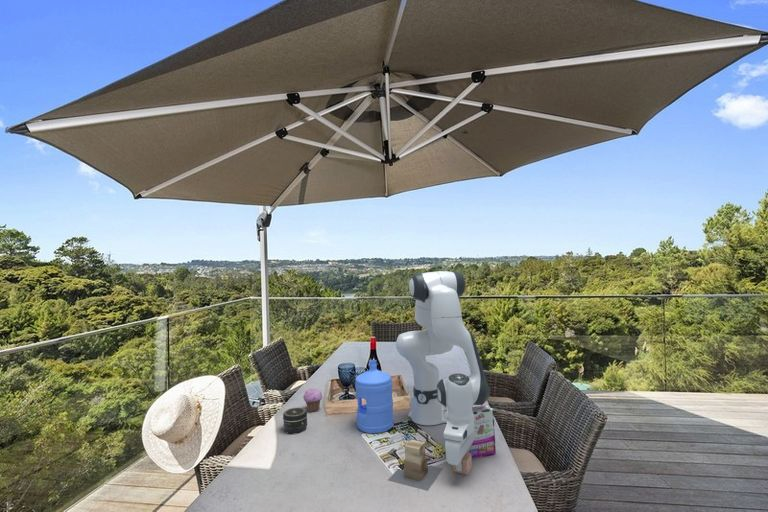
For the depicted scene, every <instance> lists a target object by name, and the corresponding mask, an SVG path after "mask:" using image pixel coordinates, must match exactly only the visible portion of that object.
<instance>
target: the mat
mask: <svg viewBox="0 0 768 512" xmlns="http://www.w3.org/2000/svg"><path fill="white" fill-rule="evenodd" d="M428 465H429V466H428V472H427V474H426V475H425V476H424V477H423V479H422V480H421V481H419V480H415V479H411V478H407V477H404V471H403V470H404V469H403V470H402V469H401V470H400V469H398V468H397V469H396V470H395V471H394V472H393V474H392V475H391V476H390V477H389V478H388V479H387V481H388V482H393V483H396V484H400V485H404V486H408V487H411V488H416V489H418V490H419V489H420V490H424V491H426V492H427V491H429V490H430V489H431V487H432V486H433V484H434V483H435V481H436V480H437V478H438V477H439V475H440V474H441V473H442V472H443V470H444V467H439V466H436V465H435V466H434V465H431V464H428Z"/></svg>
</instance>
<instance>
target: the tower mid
mask: <svg viewBox="0 0 768 512" xmlns="http://www.w3.org/2000/svg"><path fill="white" fill-rule="evenodd" d="M425 443H426V442H425V441H421V440H420V441H419V440H415V439H410V440H409V441H408V442H407V443H406V444H405V445H404V457H405V458H404V460H405V461H406V462H411V463H415V464H420V463H421V462H422V461H423V460H424V458H425V456H426V444H425Z"/></svg>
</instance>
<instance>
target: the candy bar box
mask: <svg viewBox="0 0 768 512" xmlns="http://www.w3.org/2000/svg"><path fill="white" fill-rule="evenodd" d="M472 410H473V414H474V432H475V439H474V441H473V443H472V445H471V446H470V448H469V453H470V454H471V457H472V459H474V458H480V457H487V456H492V455H495V454H497V453H496V450H497V449H496V448H497V447H496V433H495V419H494V418H495V416H494V415H495V414H494V408H493V407H491V406H490V405H489V404H483V405H476V406H473V408H472Z"/></svg>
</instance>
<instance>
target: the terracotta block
mask: <svg viewBox="0 0 768 512" xmlns="http://www.w3.org/2000/svg"><path fill="white" fill-rule="evenodd" d="M472 459H473V458H472V457H471V454H470V453H466V454H465V455H464V457H463V459H462V461H461V464H462V467H463V469H462V470H461V471H457V470H456V466H455V465H452V472H453V473H458V474H461V475H462V474H463V475H467V476H468V475H469V473H470V471H471V469H472V468H473V461H472Z"/></svg>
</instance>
